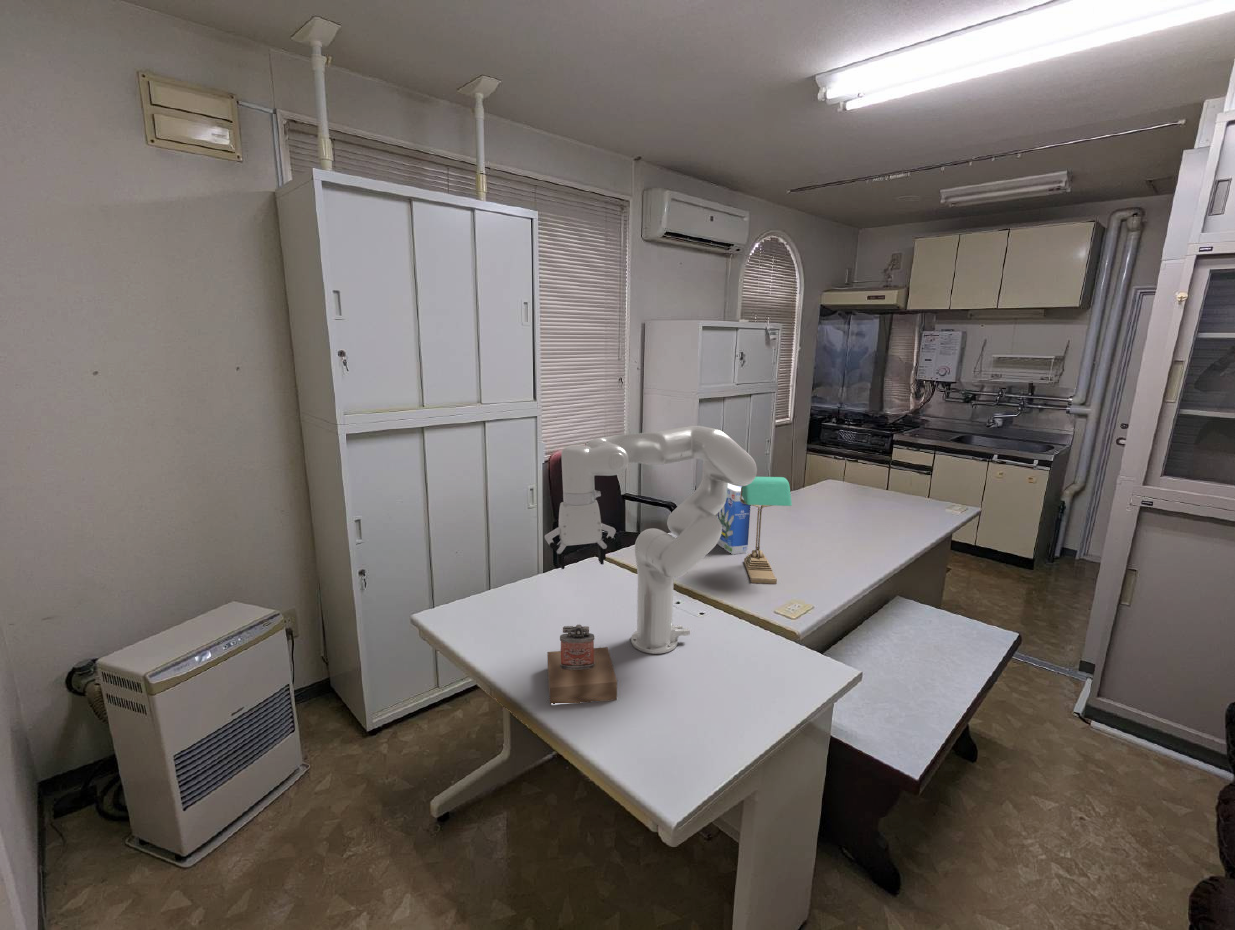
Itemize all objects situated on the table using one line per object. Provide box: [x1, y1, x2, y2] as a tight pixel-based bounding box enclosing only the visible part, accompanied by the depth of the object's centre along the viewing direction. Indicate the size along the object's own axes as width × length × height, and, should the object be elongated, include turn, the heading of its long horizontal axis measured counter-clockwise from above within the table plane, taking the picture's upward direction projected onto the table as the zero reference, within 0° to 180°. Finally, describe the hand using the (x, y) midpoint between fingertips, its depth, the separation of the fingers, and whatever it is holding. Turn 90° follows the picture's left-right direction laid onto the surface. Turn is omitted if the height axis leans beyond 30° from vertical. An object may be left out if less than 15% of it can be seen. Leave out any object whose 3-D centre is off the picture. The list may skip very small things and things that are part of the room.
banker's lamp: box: [740, 476, 793, 585], centre depth 191 cm, size 16×21×35 cm
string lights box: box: [716, 483, 751, 555], centre depth 217 cm, size 13×8×26 cm, turn 17°
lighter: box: [559, 624, 595, 670], centre depth 127 cm, size 8×3×10 cm, turn 93°
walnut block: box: [547, 646, 618, 705], centre depth 128 cm, size 15×15×5 cm
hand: (581, 564), depth 133 cm, fingers open, 9 cm apart
